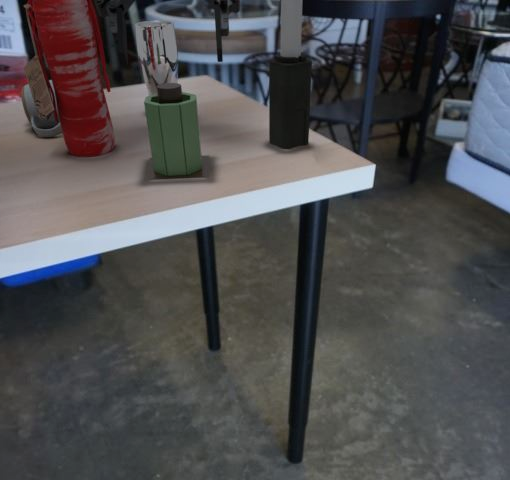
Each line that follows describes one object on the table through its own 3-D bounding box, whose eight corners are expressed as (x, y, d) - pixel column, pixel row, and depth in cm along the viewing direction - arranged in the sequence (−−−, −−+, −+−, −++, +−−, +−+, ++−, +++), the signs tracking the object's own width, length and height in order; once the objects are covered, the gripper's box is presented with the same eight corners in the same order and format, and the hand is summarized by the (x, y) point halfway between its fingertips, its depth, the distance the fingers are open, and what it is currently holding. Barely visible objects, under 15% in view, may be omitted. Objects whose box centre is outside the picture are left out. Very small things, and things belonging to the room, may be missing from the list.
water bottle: (41, 171, 81) (-19, -39, 64) (49, 153, 87) (-4, -42, 70) (121, 165, 82) (83, -42, 65) (124, 148, 88) (89, -46, 71)
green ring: (152, 176, 74) (142, 106, 68) (156, 159, 79) (147, 92, 73) (201, 174, 74) (195, 104, 68) (202, 158, 79) (196, 90, 73)
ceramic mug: (36, 121, 100) (23, 76, 95) (80, 119, 101) (70, 73, 96) (26, 140, 93) (11, 91, 87) (73, 137, 93) (62, 88, 88)
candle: (284, 159, 82) (288, -48, 66) (266, 151, 86) (265, -49, 69) (311, 153, 84) (320, -50, 68) (291, 144, 88) (296, -51, 71)
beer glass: (168, 125, 97) (157, 27, 87) (139, 120, 100) (125, 25, 90) (191, 115, 102) (182, 21, 92) (163, 111, 104) (151, 19, 94)
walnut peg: (145, 190, 74) (130, 95, 66) (151, 167, 81) (138, 79, 73) (210, 188, 75) (202, 92, 67) (210, 165, 81) (203, 76, 73)
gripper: (250, -64, 81) (258, 71, 79) (84, -59, 80) (90, 77, 78) (251, -113, 73) (260, 35, 72) (68, -108, 72) (74, 42, 71)
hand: (171, 57), depth 75 cm, fingers open, 13 cm apart
